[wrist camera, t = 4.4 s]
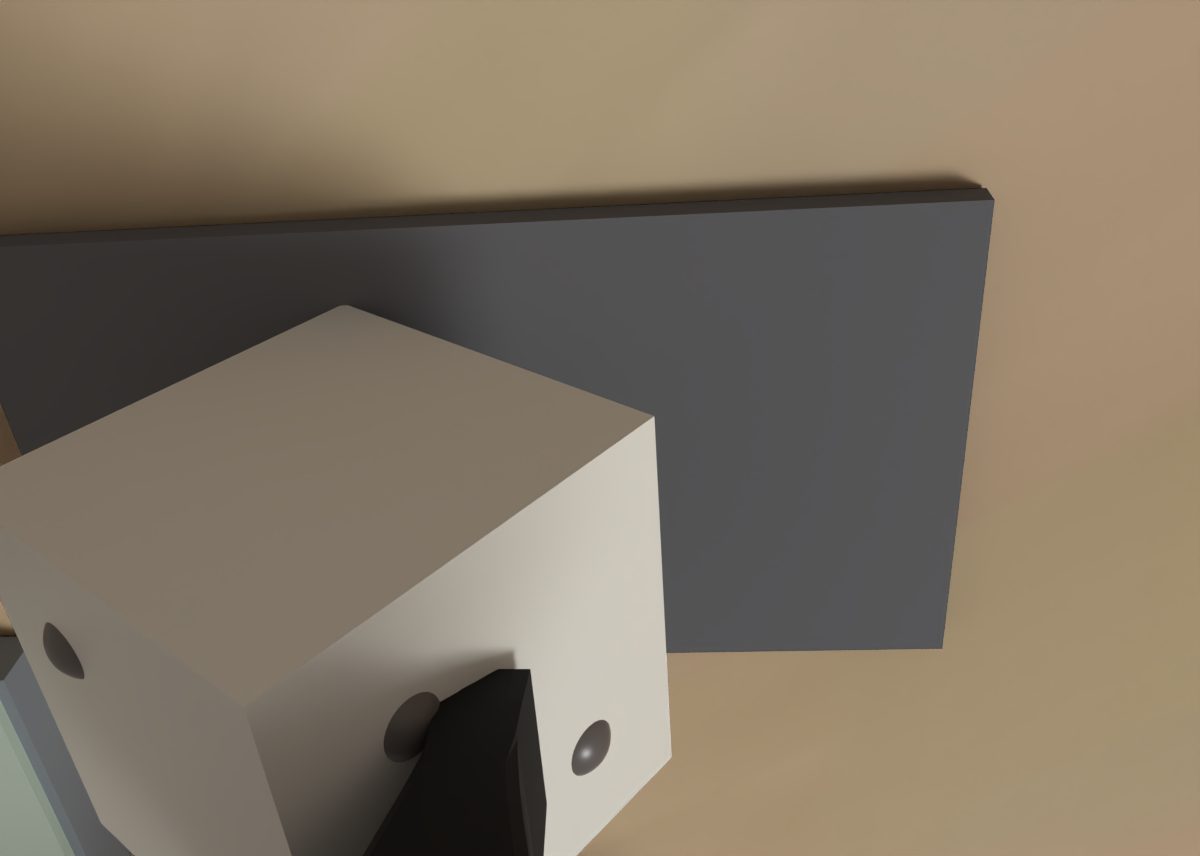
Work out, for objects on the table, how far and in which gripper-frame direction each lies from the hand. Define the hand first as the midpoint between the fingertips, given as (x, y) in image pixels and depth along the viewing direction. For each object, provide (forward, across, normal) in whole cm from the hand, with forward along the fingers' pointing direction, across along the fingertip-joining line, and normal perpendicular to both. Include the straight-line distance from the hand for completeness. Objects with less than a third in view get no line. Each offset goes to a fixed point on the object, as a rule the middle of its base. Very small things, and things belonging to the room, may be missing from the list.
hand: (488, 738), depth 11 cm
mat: (+5, +1, 0) cm, 5 cm away
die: (+3, 0, 0) cm, 4 cm away
